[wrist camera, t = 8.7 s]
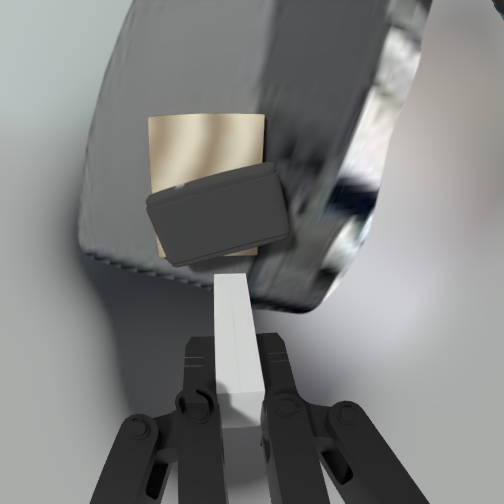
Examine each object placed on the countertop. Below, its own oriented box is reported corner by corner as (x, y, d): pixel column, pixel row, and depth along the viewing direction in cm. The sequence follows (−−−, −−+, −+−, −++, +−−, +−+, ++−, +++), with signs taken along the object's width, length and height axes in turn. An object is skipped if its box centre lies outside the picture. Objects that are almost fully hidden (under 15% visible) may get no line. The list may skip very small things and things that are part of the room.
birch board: (263, 114, 30) (264, 114, 29) (256, 251, 39) (257, 255, 38) (150, 116, 29) (148, 117, 28) (160, 253, 37) (159, 257, 37)
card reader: (271, 156, 32) (149, 190, 32) (277, 163, 28) (140, 202, 29) (286, 225, 36) (174, 254, 37) (293, 239, 33) (170, 271, 33)
